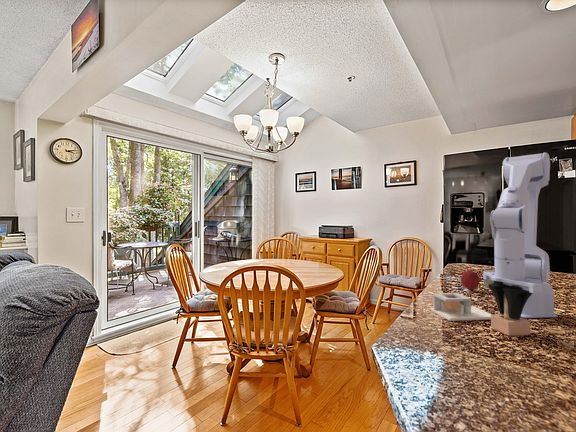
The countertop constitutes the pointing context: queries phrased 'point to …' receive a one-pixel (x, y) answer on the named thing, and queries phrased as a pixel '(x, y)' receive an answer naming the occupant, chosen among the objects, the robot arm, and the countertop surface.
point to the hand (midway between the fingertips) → (509, 316)
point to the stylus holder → (510, 325)
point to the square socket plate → (458, 313)
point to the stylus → (506, 310)
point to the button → (452, 304)
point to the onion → (470, 279)
